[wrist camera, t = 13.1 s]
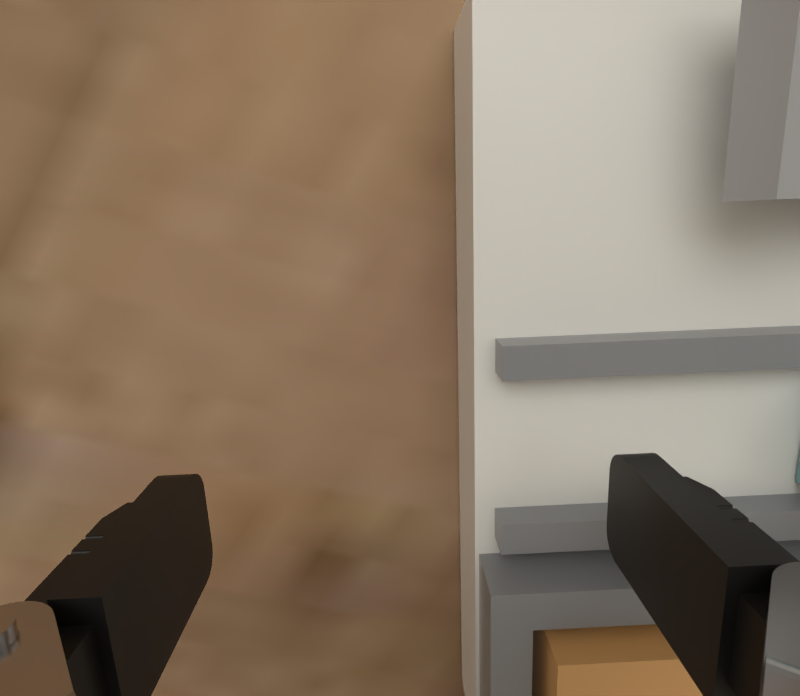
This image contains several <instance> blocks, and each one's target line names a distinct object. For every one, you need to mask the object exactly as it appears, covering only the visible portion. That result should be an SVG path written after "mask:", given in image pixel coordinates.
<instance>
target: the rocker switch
mask: <svg viewBox="0 0 800 696" xmlns="http://www.w3.org/2000/svg"><path fill="white" fill-rule="evenodd" d="M789 199H800V0H742V3H741V13H740V23H739V34H738V44H737V54H736V64H735V74H734V84H733V94H732V104H731V115H730V125H729V135H728V145H727V155H726V165H725V175H724V186H723V196H722V202H731V201H758V200H789Z"/></svg>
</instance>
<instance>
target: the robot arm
mask: <svg viewBox="0 0 800 696" xmlns="http://www.w3.org/2000/svg"><path fill="white" fill-rule="evenodd" d="M606 529H607V539H608V545H609V548H610V552H611V554H612V557H613V559H614V561H615V563H616V564H617V566H618V567H619V569H620V570H621V572H622V573H623V575H624V576H625V578H626V579H627V581H628V582H629V584H630V585H631V587H632V588H633V590H634V591H635V593H636V595H637V596H638V598H639V599H640V601H641V602H642V604H643V605H644V607H645V608H646V610H647V611H648V613H649V614H650V616H651V617H652V619H653V620H654V622H655V623H656V625H657V626H658V628H659V630H660V631H661V633H662V634H663V636H664V637H665V639H666V640H667V642H668V643H669V645H670V646H671V648H672V649H673V651H674V652H675V654H676V655H677V657H678V658H679V660H680V661H681V663H682V665H683V666H684V668H685V669H686V671H687V672H688V674H689V675H690V677H691V678H692V680H693V681H694V683H695V684H696V686H697V687H698V689H699V690H700V692H701V693H702V695H703V696H800V561H799V560H797V559H796V558H795V557H794V556H793V555H791V554H790V553H789V552H788V551H787V550H786V549H784V548H783V547H782V546H781V545H780V544H778V543H777V542H776V541H775V540H774V539H772V538H771V537H770V536H769V535H768V534H766V533H765V532H764V531H763V530H762V529H760V528H759V527H758V526H757V525H756V524H755V523H753V522H749V518H747V517H746V516H745V515H744V514H743V513H741V512H740V511H739V510H738V509H737V508H733V505H732V504H731V503H729V502H728V501H727V500H726V499H725V498H724V497H722V496H721V495H720V494H719V493H718V492H716V491H715V490H714V489H712V488H710V487H708V486H706V485H704V484H702V483H700V482H697V481H695V480H693V479H691V478H689V477H687V476H686V477H683V476H682V475H681V474H679V473H678V472H677V471H676V470H675V469H674V468H673V467H671V466H670V465H669V464H668V463H667V462H666V461H665V460H664V459H662V458H661V457H660V456H659V455H658V454H656V453H639V454H618V455H614V456H613V458H612V460H611V463H610V471H609V489H608V508H607V528H606ZM212 553H213V552H212V541H211V533H210V526H209V519H208V512H207V505H206V498H205V491H204V485H203V481H202V479H201V477H200V476H199V475H198V474H186V475H165V476H157V477H156V478H154V479H153V481H152V482H151V483H150V484H149V485H148V486H147V487H146V488H145V490H144V491H143V492H142V493H141V494H140V495H139V496H138V498H137V499H136V500H135V501H134V502H133V503H126V504H125V505H123V506H121V507H120V508H118V509H117V510H115V511H113V512H112V513H110V514H108V515H107V516H105V517H104V518H102V519H101V520H100V521H99V522H98V523H97V524H96V526H95V527H94V528H93V529H92V530H91V531H90V532H89V533H88V534H87V535H86V539H83V540H81V541H80V542H79V544H78V545H77V546H76V547H75V548H74V549H73V550H72V553H71V555H67V556H66V557H65V558H64V559H63V561H62V562H61V563H60V564H59V565H58V566H57V567H56V568H55V569H54V570H53V571H52V572H51V573H50V574H49V575H48V576H47V577H46V579H45V580H44V581H43V582H42V583H41V584H40V585H39V586H38V587H37V588H36V589H35V590H34V591H33V592H32V593H31V594H30V596H29V597H28V598H27V599H26V600H25V601H22V602H15V603H9V604H5V605H2V606H0V696H151V695H152V693H153V691H154V688H155V686H156V684H157V682H158V680H159V678H160V676H161V674H162V672H163V670H164V668H165V666H166V664H167V662H168V660H169V658H170V656H171V654H172V652H173V650H174V648H175V646H176V644H177V642H178V640H179V638H180V636H181V634H182V632H183V630H184V628H185V626H186V624H187V622H188V619H189V617H190V615H191V613H192V611H193V609H194V607H195V605H196V603H197V601H198V599H199V597H200V595H201V593H202V591H203V589H204V587H205V585H206V583H207V581H208V578H209V575H210V571H211V566H212Z"/></svg>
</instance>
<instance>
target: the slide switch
mask: <svg viewBox="0 0 800 696" xmlns="http://www.w3.org/2000/svg"><path fill="white" fill-rule="evenodd" d="M796 482H798V483H799V484H800V455H799V462H798V469H797V476H796Z"/></svg>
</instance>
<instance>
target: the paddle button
mask: <svg viewBox="0 0 800 696" xmlns="http://www.w3.org/2000/svg"><path fill="white" fill-rule="evenodd" d="M532 696H703V695H702V693H701V692H700V690H699V689H698V687H697V686H696V684H695V683H694V681H693V680H692V678H691V677H690V675H689V674H688V672H687V671H686V669H685V668H684V666H683V665H682V663H681V661H680V660H679V658H678V657H677V655H676V654H675V652H674V651H673V649H672V648H671V646H670V645H669V643H668V642H667V640H666V639H665V637H664V636H663V634H662V633H661V631H660V630H659V628H658V626H657V625H656V624H649V625H630V626H611V627H592V628H573V629H554V630H535V631H534V634H533V675H532Z"/></svg>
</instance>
